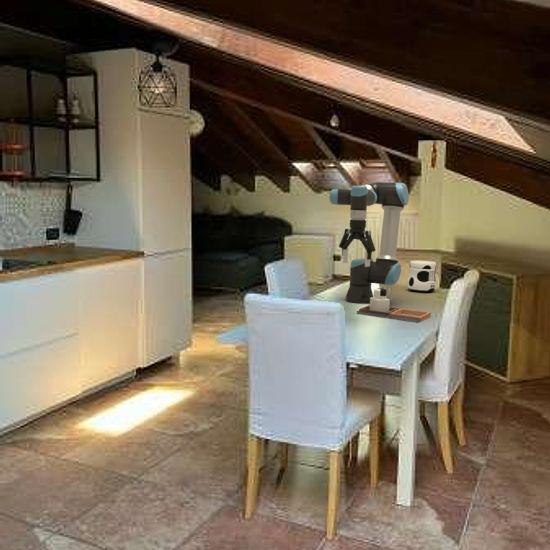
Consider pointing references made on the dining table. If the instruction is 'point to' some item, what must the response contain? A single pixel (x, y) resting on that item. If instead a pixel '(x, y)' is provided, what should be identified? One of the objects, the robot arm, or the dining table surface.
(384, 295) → the medicine bottle
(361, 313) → the rail bar
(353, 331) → the dining table surface
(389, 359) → the dining table surface
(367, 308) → the frame
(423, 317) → the frame
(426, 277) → the milk container
